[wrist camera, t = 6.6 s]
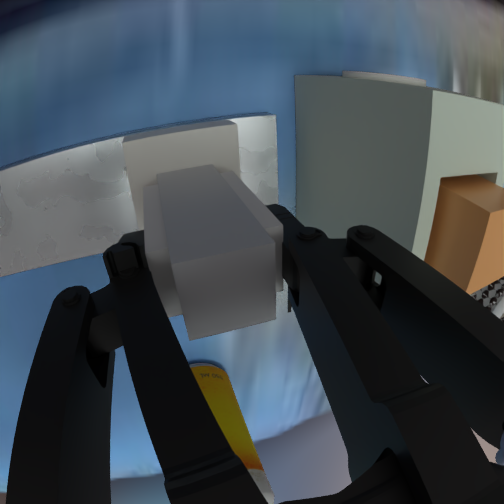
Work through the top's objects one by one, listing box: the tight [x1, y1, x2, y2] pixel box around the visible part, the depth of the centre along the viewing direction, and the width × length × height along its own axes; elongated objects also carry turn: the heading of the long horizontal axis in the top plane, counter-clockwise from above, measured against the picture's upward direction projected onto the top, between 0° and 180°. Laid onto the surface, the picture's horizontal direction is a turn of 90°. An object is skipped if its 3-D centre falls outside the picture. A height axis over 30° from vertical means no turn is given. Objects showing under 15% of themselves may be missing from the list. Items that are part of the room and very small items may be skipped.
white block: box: [294, 71, 504, 295], centre depth 18 cm, size 7×12×12 cm, turn 3°
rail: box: [0, 112, 278, 277], centre depth 18 cm, size 25×7×2 cm, turn 93°
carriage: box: [122, 120, 276, 340], centre depth 14 cm, size 6×7×11 cm
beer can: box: [189, 363, 274, 504], centre depth 24 cm, size 6×6×15 cm
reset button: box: [424, 174, 504, 295], centre depth 13 cm, size 4×4×5 cm
